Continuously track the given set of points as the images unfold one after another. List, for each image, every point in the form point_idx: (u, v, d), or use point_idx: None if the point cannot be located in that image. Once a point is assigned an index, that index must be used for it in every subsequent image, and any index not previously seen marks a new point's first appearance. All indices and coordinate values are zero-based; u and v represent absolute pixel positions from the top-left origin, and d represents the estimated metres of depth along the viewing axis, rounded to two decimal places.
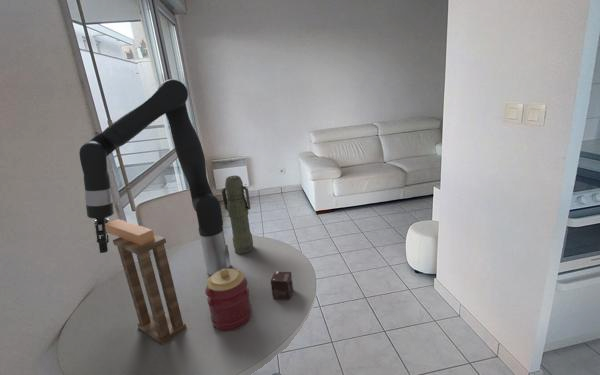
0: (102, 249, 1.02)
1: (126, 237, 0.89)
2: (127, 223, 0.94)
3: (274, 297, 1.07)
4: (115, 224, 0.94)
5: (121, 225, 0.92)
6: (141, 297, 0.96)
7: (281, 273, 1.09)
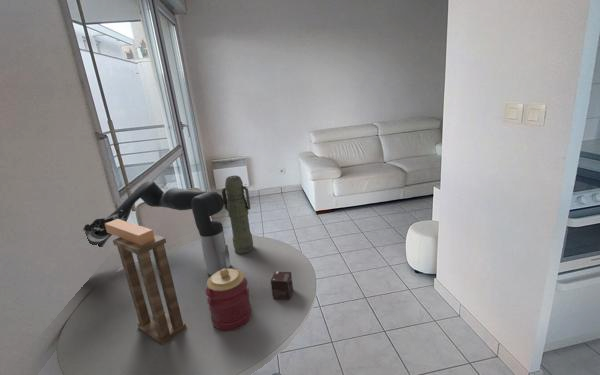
0: None
1: (126, 237, 0.89)
2: (127, 223, 0.94)
3: (274, 297, 1.07)
4: (115, 224, 0.94)
5: (121, 225, 0.92)
6: (141, 297, 0.96)
7: (281, 273, 1.09)
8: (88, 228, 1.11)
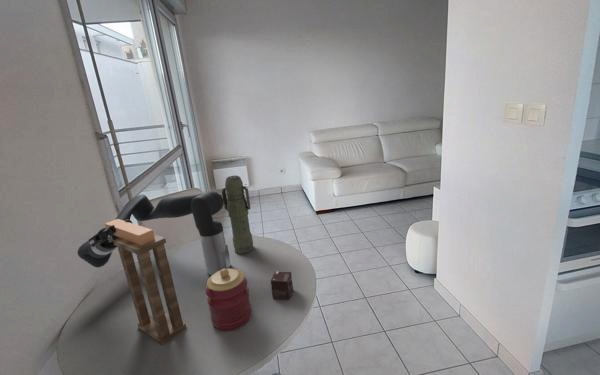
0: None
1: (126, 237, 0.89)
2: (127, 223, 0.94)
3: (274, 297, 1.07)
4: (115, 223, 0.94)
5: (121, 225, 0.92)
6: (141, 297, 0.96)
7: (281, 273, 1.09)
8: (102, 236, 0.93)
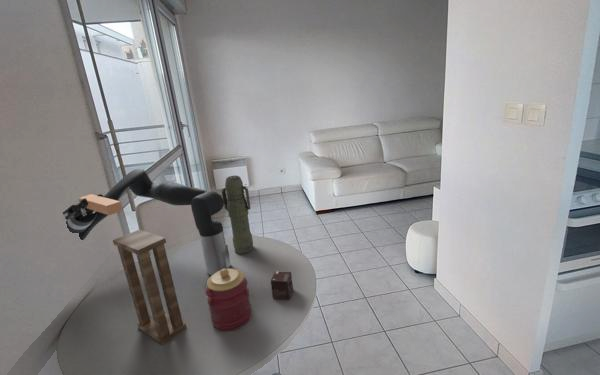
0: None
1: (96, 209, 0.95)
2: (99, 197, 1.00)
3: (274, 297, 1.07)
4: (88, 197, 1.01)
5: (93, 198, 0.99)
6: (141, 297, 0.96)
7: (281, 273, 1.09)
8: (75, 209, 0.99)
